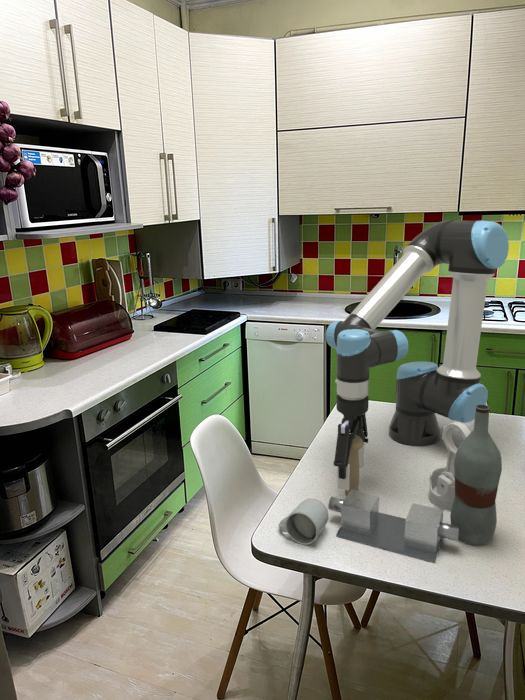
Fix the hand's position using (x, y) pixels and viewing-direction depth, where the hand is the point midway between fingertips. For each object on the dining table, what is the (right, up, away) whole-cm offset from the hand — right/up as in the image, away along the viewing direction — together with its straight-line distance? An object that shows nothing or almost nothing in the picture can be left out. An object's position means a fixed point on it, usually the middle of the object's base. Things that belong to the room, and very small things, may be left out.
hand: (351, 477), depth 132 cm
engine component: (+24, -5, -3) cm, 25 cm away
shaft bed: (+6, -9, -15) cm, 18 cm away
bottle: (+24, -9, -16) cm, 30 cm away
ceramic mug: (-13, -10, -13) cm, 21 cm away
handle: (0, -5, +1) cm, 5 cm away
